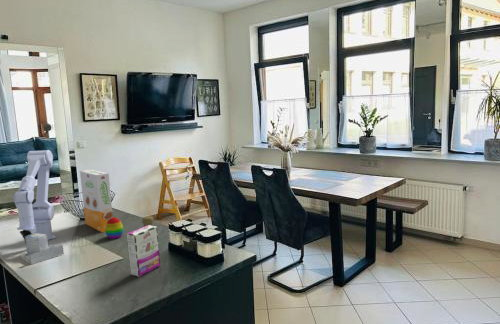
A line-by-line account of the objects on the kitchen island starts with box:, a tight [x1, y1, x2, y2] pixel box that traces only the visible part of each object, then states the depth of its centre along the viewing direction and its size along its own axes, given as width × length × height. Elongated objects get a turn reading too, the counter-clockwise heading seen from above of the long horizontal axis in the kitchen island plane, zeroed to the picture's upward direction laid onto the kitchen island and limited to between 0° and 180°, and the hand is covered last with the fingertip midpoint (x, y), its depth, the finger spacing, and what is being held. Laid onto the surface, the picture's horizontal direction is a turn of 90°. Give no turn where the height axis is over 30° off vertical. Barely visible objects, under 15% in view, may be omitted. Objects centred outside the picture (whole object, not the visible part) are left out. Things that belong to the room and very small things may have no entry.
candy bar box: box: [126, 225, 161, 278], centre depth 141 cm, size 11×5×16 cm, turn 148°
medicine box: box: [25, 233, 49, 255], centre depth 162 cm, size 8×4×9 cm, turn 71°
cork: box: [141, 215, 154, 227], centre depth 176 cm, size 6×6×11 cm
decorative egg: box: [105, 216, 124, 240], centre depth 181 cm, size 8×8×10 cm
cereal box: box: [79, 169, 113, 233], centre depth 197 cm, size 22×6×30 cm, turn 44°
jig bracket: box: [20, 244, 65, 266], centre depth 160 cm, size 12×13×4 cm
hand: (29, 245), depth 168 cm, fingers closed
